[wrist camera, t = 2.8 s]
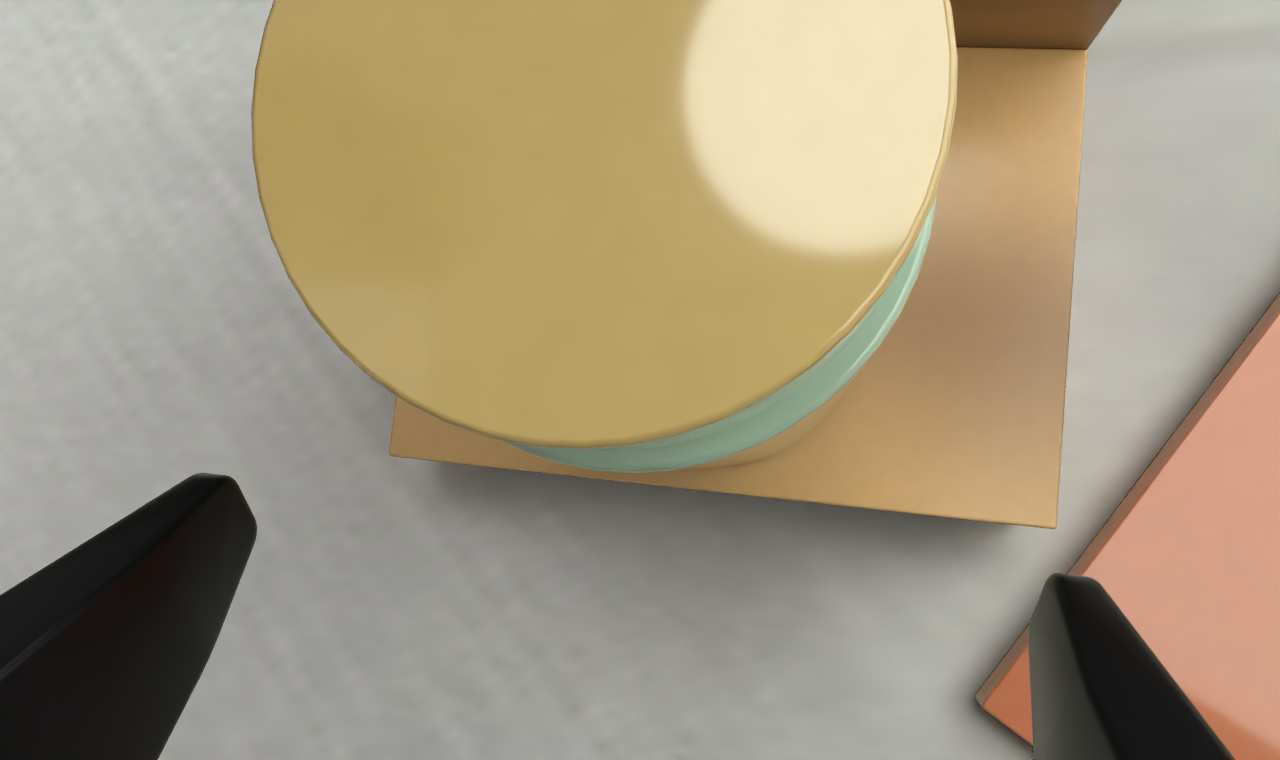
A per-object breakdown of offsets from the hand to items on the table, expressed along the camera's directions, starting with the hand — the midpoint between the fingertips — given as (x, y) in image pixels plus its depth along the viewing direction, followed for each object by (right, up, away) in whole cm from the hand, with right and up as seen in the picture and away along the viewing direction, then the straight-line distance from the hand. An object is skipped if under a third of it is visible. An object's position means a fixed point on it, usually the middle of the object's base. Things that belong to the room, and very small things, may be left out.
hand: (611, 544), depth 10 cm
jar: (+2, +3, +9) cm, 10 cm away
